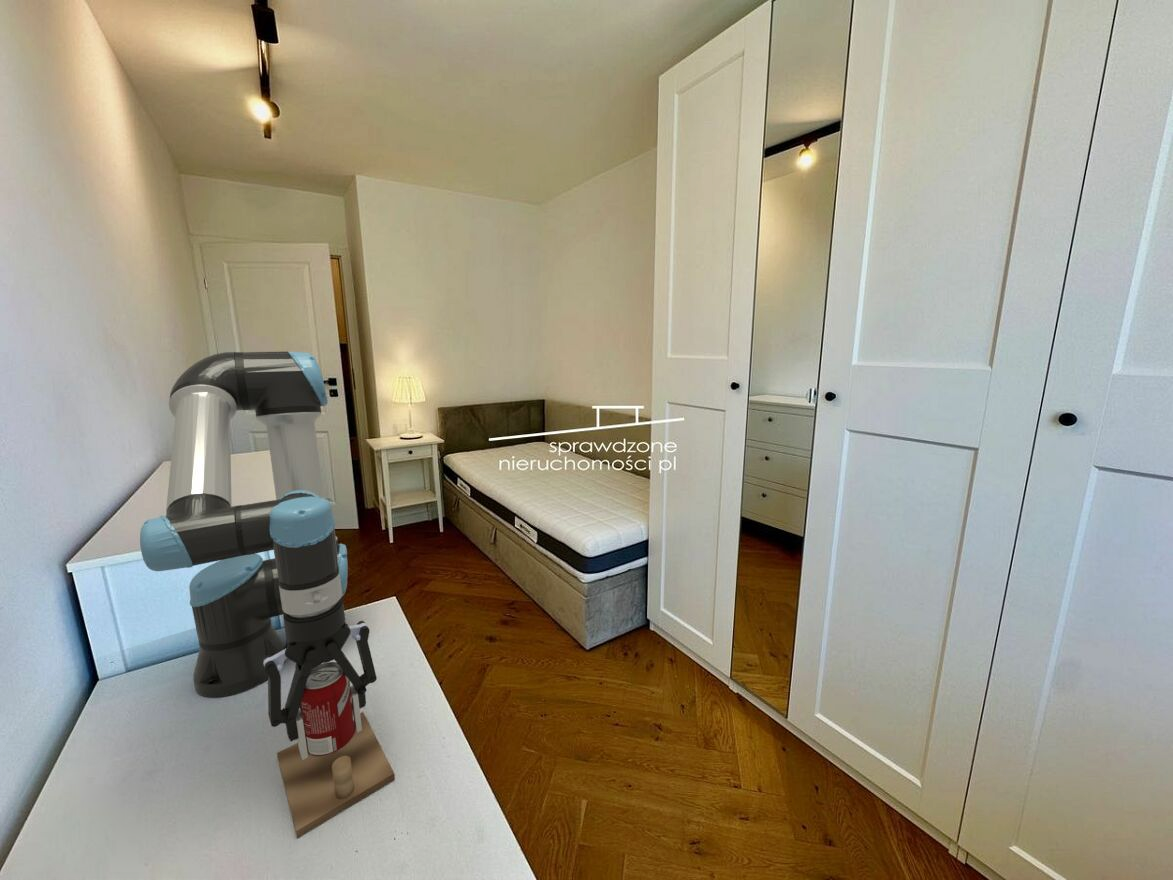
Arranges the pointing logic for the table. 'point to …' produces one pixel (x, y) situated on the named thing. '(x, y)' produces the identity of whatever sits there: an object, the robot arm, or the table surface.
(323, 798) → the pegboard
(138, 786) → the table surface
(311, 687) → the soda can
